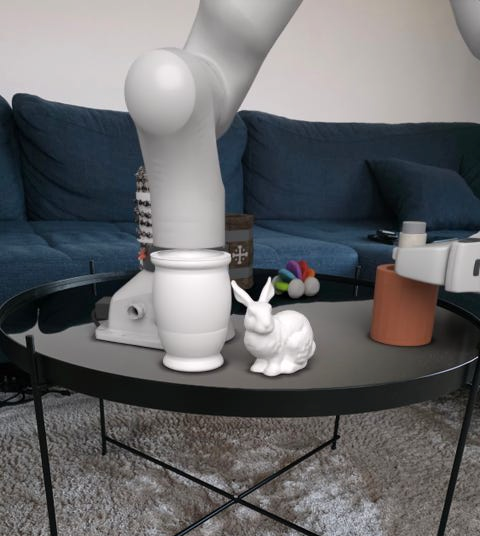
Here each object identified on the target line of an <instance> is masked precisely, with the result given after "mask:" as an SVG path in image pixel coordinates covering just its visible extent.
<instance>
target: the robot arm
mask: <svg viewBox="0 0 480 536" xmlns="http://www.w3.org/2000/svg"><path fill="white" fill-rule="evenodd" d="M448 1H449V6H450V9H451V11H452V15H453V18H454V23H455V24H456V28H457V30H458V32H459V34H460V36H461V38H462V40H463V42H464V44H465V46H466V47H467V49H468V51H469V52H470V53H471V55H472V56H473V57H474V58H475V59H477V60H479V61H480V0H448ZM303 2H304V0H199V4H198V8H197V12H196V15H195V18H194V20H193V23H192V25H191V28H190V30H189V31H190V32H189V34H188V36H187V39H186V42H185V43H184V45H183V48H182V49H181V48H178V47H174V46H173V47H171V46H167V47H159V48H155V49H151V50H147V51H146V52H144V53H142V54H141V55H139V56H138V57H137V58H136V59H135V60H134V61H133V62H132V64H131V65H130V67H129V68H128V71H127V73H126V75H125V76H126V77H125V80H124V87H123V95H124V102H125V106H126V108H127V112H128V113H129V116H130V117H131V119H132V121H133V123H134V125H135V129H136V133H137V137H138V142H139V147H140V151H141V156H142V159H143V164H144V166H145V169H146V173H147V178H148V183H149V191H150V201H151V218H152V235H153V244H151V245H150V246H149V247H147V248H145V249H144V250H142V251H139V252H137V254H138V255H139V256H138V258H137V260H139V261H140V260H141V259H143V268H144V269H143V270H142V271H141V270H140V271H139V272H138V273H137V274H136V275H135V276H133V277H132V278H130V280H129V281H127V282H126V283H125V284H124V285H123V286H121V287H120V288H119V289H118V290H117V291H116V292H114V294H113V295H112V296H103V297H101V298H100V299H99V300H98V301H97V302H95V303H94V306H95V307H94V308H93V310H92V311H91V313H90V314H91V315H90V317H91V320H92V323H93V324H94V325H95V332H94V335H95V336H94V337H95V339H97V340H100V341H107V342H114V343H118V344H119V343H120V344H125V345H126V344H127V345H132V346H140V347H145V348H152V349H157V350H164V348H163V346H162V344H161V341H160V339H159V335H158V330H157V324H156V320H155V316H154V311H153V303H152V284H153V276H154V271H155V265H154V264H153V263H152V262H151V259H150V258H151V256H150V254H151V253H153V252H157V251H164V250H173V249H208V250H217V251H223V252H227V253H228V246H227V245H226V244H225V213H226V189H225V185H224V183H223V179H222V173H221V167H220V160H219V153H218V147H217V141H218V140H219V139H220V138H222V137H223V136H224V135H225V134H226V133H227V132H228V130H229V129H230V128H231V126H232V124H233V121H234V119H235V117H236V115H237V113H238V112H239V109H240V108H241V106H242V104H243V102H244V101H245V100H246V98H247V95H248V93H249V91H250V90H251V88H252V86H253V84H254V82H255V80H256V78H257V76H258V74H259V72H260V70H261V68H262V66H263V64H264V62H265V60H266V58H267V57H268V55H269V54H270V51H271V50H272V49H273V47H274V46H275V44H276V42H277V40H278V39H279V37H281V34H283V32H284V30H285V29H286V28H287V26H288V24H289V23H290V21H291V20H292V18H293V17H294V15H295V14H296V12H297V11H298V10H299V8H300V6H301V5H302V3H303ZM392 259H393V260H394V264H395V268H394V270H395V273H396V274H398V275H399V276H402V277H405V278H409V279H412V280H416V281H420V282H425V283H429V284H434V285H439V286H444V290H445V291H446V292H448V293H454V294H459V293H460V294H466V293H469V294H470V293H471V294H475V295H480V230H479V231H478V232H477V233H475V234H472V235H471V236H468V237H466V238H461V239H453V240H447V241H439V242H431V243H426V244H424V245H417V246H409V247H398V246H396V247H394V248H393V249H392ZM227 270H228V274H229V264H228V265H227ZM98 319H102V320H103V319H104V320H105V319H106V321H104V322H102V323H100V322H99V321H98ZM235 336H236V330H235V328H234V323H233V319H232V314H230V318H229V322H228V331H227V336H226V340H225V342H227V341H230V340H231V339H233V338H234V337H235Z"/></svg>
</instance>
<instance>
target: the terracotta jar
mask: <svg viewBox="0 0 480 536" xmlns="http://www.w3.org/2000/svg"><path fill="white" fill-rule="evenodd" d="M394 268H395V263H385V264H380V265H378V266H377V267H376V273H375V281H374V282H375V283H374V293H373V302H372V303H373V304H372V313H371V322H370V334H369V337H370V338H371V339H372V340H374V342H375V341H376V342H378V343H381V344H385V345H391V346H398V347H418V346H425V345H427V344H430V343H431V342H432V337H433V332H434V325H435V318H436V312H437V311H436V310H437V304H438V298H439V297H438V296H439V292H440V291H439V290H440V285H434V284H429V283H425V282H420V281H416V280H412V279H409V278H405V277H402V276H399V275H398V274H396V273H395V270H394Z"/></svg>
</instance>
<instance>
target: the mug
mask: <svg viewBox="0 0 480 536" xmlns="http://www.w3.org/2000/svg"><path fill="white" fill-rule="evenodd" d="M254 224H255V215H253V214H246V213H226V212H225V244H226V245H227V246H228V253H229V254H231V262H230V263H229V278H230V285H231V282H232V280H234V281H235V282H236V284H237V285H238V286H239V287H240V288H241V289H243V290H244V291H245V290H250V289H251V288H252V287H253V286H254V285H255V284H254V273H253V272H254V268H253V267H254V266H253V265H254V256H255V255H254V253H255V247H254V246H255V245H254ZM231 292H234V289H233V287H232V285H231Z"/></svg>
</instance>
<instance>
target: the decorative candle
mask: <svg viewBox="0 0 480 536" xmlns="http://www.w3.org/2000/svg"><path fill="white" fill-rule="evenodd" d="M134 176H135V178H136V183H135V184H136V191H135V198H133V200H132V201H133V203H134V204H136V205H137V206H135V207H134V208H133V213H135V215H136V216H135V217H134V218H133V220H134V221H135V223H136V224H138V226H137V227H136V228H135V233H136V234H137V236H136V241H137V242H139V244H140V246H139V252H141V251H142V250H144V249H145V248H147V247H149V246H150V245H151V244H153V235H152V218H151V201H150V191H149V183H148V178H147V173H146V169H145V165H141V166H140V167H139V168H138V170H137V172H136V173H135V174H134ZM138 269H139V271H140V272H141V271H142V270H143V269H144V268H143V259H141V260H139V265H138Z"/></svg>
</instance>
